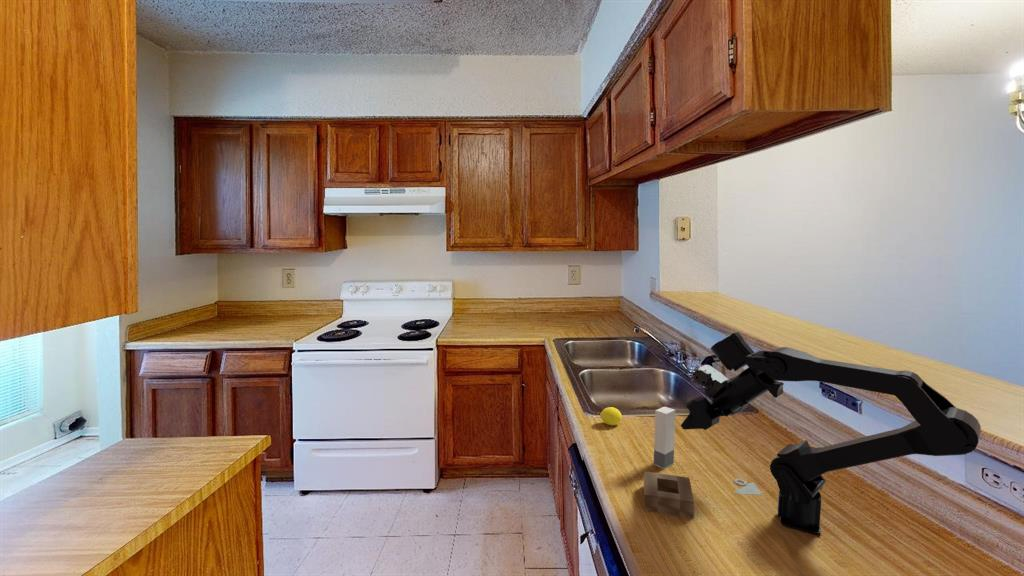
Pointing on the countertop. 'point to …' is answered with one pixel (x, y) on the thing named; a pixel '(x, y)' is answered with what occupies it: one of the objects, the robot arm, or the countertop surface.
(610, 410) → the lemon
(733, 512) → the countertop surface
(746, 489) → the grey triangular pendant
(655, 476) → the post base
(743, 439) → the countertop surface
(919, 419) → the robot arm
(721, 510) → the countertop surface
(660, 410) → the rail post
